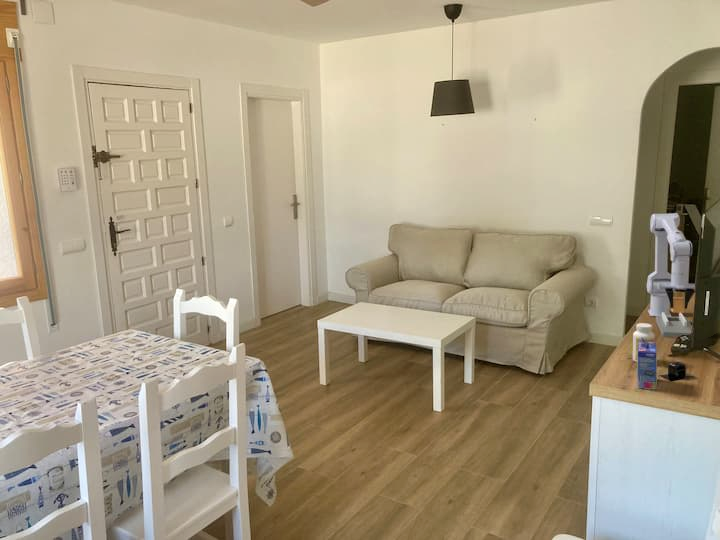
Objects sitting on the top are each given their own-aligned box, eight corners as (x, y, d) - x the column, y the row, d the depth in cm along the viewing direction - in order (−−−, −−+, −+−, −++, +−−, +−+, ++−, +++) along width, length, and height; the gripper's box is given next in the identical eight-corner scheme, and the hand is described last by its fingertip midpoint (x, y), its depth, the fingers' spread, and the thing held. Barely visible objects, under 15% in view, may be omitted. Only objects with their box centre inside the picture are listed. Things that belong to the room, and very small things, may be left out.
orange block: (671, 310, 222) (671, 297, 221) (682, 310, 220) (683, 297, 220) (672, 312, 218) (673, 299, 217) (684, 312, 217) (685, 300, 216)
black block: (669, 384, 176) (669, 370, 175) (651, 376, 183) (651, 363, 182) (701, 378, 179) (702, 364, 178) (683, 370, 186) (683, 357, 185)
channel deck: (655, 320, 237) (656, 311, 237) (685, 321, 234) (686, 312, 233) (663, 337, 217) (663, 327, 217) (696, 338, 213) (696, 328, 213)
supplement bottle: (657, 364, 192) (659, 327, 189) (637, 365, 192) (638, 328, 189) (648, 357, 198) (649, 321, 196) (629, 358, 198) (629, 322, 196)
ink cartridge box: (636, 376, 183) (637, 333, 180) (655, 378, 180) (657, 334, 178) (636, 388, 174) (637, 343, 171) (657, 390, 172) (658, 344, 169)
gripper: (659, 275, 214) (658, 310, 217) (704, 275, 209) (702, 311, 212) (657, 271, 221) (656, 305, 223) (700, 271, 215) (698, 306, 218)
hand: (678, 307), depth 218 cm, fingers closed on orange block, 4 cm apart
